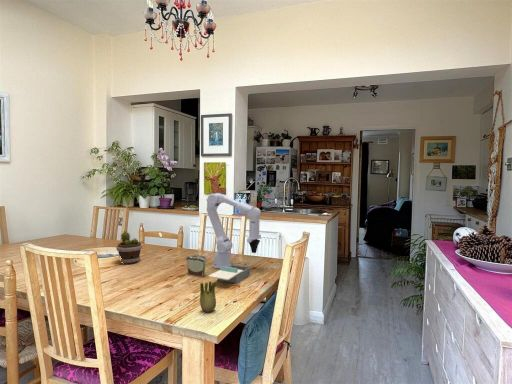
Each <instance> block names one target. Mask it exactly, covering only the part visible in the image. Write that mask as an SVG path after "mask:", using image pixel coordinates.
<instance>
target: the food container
mask: <svg viewBox="0 0 512 384" xmlns="http://www.w3.org/2000/svg"><path fill="white" fill-rule="evenodd" d="M185 261H186V267H187V275H188V276H192V277H199V278H204V277H205V272H206V263H207V258H206V256H205V255H202V254H201V255H199V254H191V255H187V256H186V257H185Z"/></svg>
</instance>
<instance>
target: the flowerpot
mask: <svg viewBox="0 0 512 384" xmlns="http://www.w3.org/2000/svg"><path fill="white" fill-rule="evenodd" d="M131 235H132V234H131V232H128V231H127V230H124V231H122V232H121V234H120V240H121V242H120V243H118V244H117V245H116V246H115V249H116V251H117V253H118V256H119V257H120V256H121V258H122V259H121V262H123V263H124V264H123V265H133V264H132V263H134V264H136V262H137V263H138V262H139V261H140V260H141V256H140V254H141V250H142V249H143V245H142V244H141V241H139V240H138V239H137V238H132V237H131ZM121 262H120V263H121Z"/></svg>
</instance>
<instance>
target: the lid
mask: <svg viewBox="0 0 512 384" xmlns="http://www.w3.org/2000/svg"><path fill="white" fill-rule="evenodd" d="M241 272H243V270H239V269H238V268H232V267H225V266H221V269H219V270H217V271H215V272H213V273H211V274H210V275H208V276H207V277H208V278H214V279H217V280H218V279H224V280H229V279H231V278H233V277H234V276H236V275H238V274H239V273H241Z"/></svg>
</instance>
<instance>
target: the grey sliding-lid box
mask: <svg viewBox="0 0 512 384" xmlns="http://www.w3.org/2000/svg"><path fill="white" fill-rule="evenodd" d="M229 267H232V268H238V269H239V270H243V272H241V273H239V274H238V275H236V276H234V277H233V278H231V279H229V280H224V279H218V278H217V282H218V281H219V282H224V283H228V284H234V285H237V284H239V283H240V282H241V281H243V280H245V279H246V278H248V277H249V276H251V267H249V266H243V265H237V264H236V265H235V264H231V266H229Z"/></svg>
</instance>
